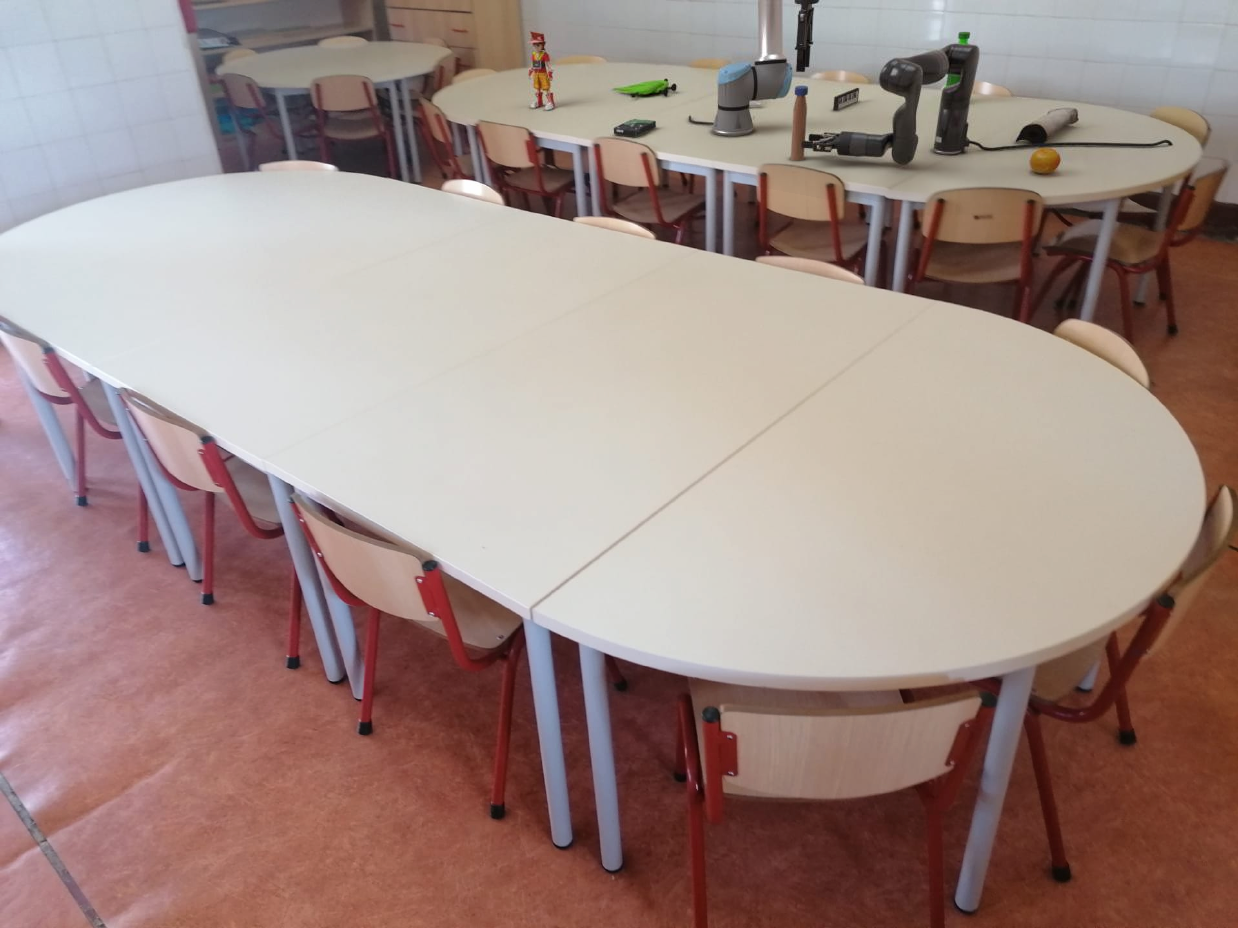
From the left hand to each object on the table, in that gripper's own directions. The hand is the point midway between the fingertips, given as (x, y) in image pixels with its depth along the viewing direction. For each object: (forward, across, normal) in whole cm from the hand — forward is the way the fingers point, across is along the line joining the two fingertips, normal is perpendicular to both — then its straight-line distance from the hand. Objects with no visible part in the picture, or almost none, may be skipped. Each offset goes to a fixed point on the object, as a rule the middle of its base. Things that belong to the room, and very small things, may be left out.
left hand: (802, 69), depth 288 cm
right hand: (+22, 0, +2) cm, 22 cm away
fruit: (+28, +1, +77) cm, 82 cm away
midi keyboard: (+28, -74, +5) cm, 79 cm away
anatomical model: (+28, -70, -36) cm, 84 cm away
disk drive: (+28, -23, -67) cm, 76 cm away
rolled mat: (+28, -44, +79) cm, 94 cm away
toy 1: (+28, -53, -120) cm, 134 cm away
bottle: (+28, 0, 0) cm, 28 cm away
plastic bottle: (+28, -86, +45) cm, 101 cm away
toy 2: (+28, -86, -87) cm, 125 cm away
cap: (+6, 0, 0) cm, 6 cm away
